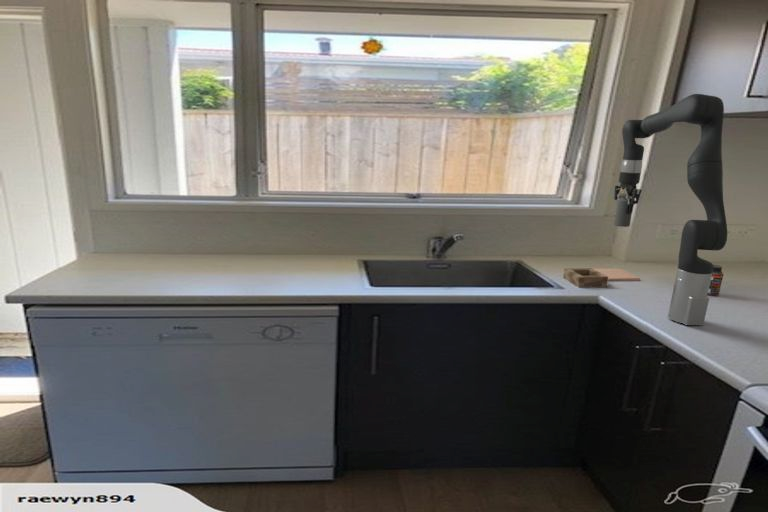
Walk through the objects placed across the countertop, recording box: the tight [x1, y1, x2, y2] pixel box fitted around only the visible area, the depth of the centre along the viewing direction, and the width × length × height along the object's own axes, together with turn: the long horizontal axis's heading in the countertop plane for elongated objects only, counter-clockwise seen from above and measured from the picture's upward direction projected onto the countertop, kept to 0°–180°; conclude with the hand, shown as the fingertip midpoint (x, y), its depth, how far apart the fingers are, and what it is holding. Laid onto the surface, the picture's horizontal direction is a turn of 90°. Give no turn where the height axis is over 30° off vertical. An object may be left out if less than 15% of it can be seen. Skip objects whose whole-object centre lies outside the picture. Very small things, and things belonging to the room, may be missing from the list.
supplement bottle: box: [707, 264, 724, 297], centre depth 174 cm, size 6×6×11 cm
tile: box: [593, 268, 641, 282], centre depth 196 cm, size 14×14×1 cm
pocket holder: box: [563, 267, 609, 288], centre depth 186 cm, size 12×12×4 cm
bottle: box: [613, 189, 633, 228], centre depth 188 cm, size 6×6×15 cm
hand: (623, 212), depth 188 cm, fingers closed on bottle, 5 cm apart
